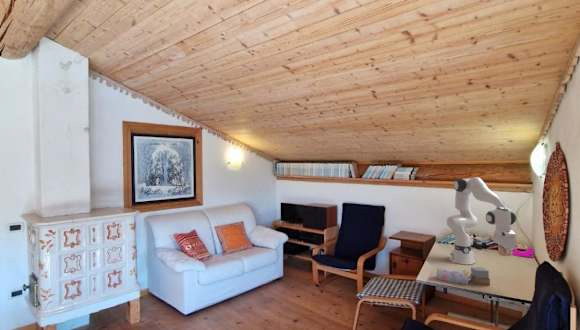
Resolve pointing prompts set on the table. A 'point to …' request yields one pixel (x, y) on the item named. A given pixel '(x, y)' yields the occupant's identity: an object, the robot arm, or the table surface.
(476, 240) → the camera
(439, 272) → the pencil case
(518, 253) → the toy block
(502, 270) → the table surface
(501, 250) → the terracotta cube
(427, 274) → the table surface
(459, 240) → the robot arm
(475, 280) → the tower bottom
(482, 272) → the tower top
